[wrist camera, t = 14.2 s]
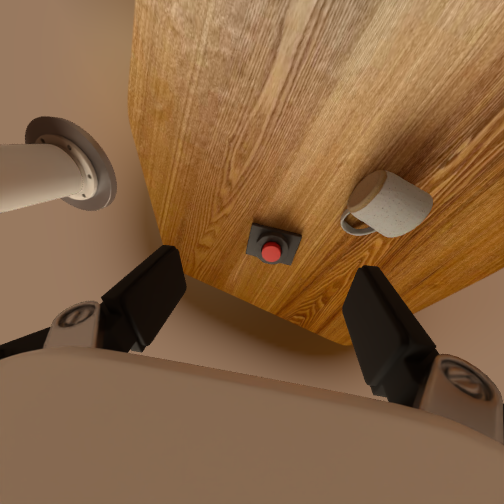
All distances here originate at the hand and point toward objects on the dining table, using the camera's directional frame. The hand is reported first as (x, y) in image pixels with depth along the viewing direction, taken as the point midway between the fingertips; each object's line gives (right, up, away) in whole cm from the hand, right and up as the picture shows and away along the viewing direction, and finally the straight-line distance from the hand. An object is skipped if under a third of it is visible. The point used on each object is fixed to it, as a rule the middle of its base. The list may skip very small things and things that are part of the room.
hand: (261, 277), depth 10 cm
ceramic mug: (+20, +10, +22) cm, 31 cm away
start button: (+3, +2, +26) cm, 27 cm away
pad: (+4, +3, +29) cm, 29 cm away
